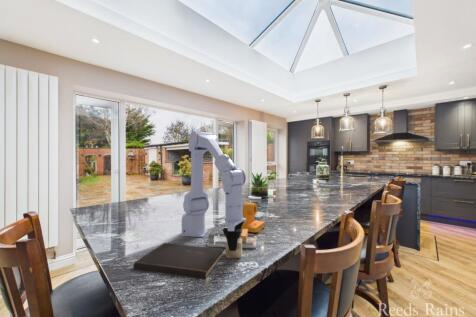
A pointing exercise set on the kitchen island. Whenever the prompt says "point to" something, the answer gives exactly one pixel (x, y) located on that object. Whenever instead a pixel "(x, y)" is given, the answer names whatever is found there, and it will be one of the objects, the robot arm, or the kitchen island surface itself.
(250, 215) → the bracket
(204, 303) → the kitchen island surface
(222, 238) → the vise base
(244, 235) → the sliding jaw
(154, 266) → the dark brown flat slab
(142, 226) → the kitchen island surface
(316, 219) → the kitchen island surface
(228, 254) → the maple block
